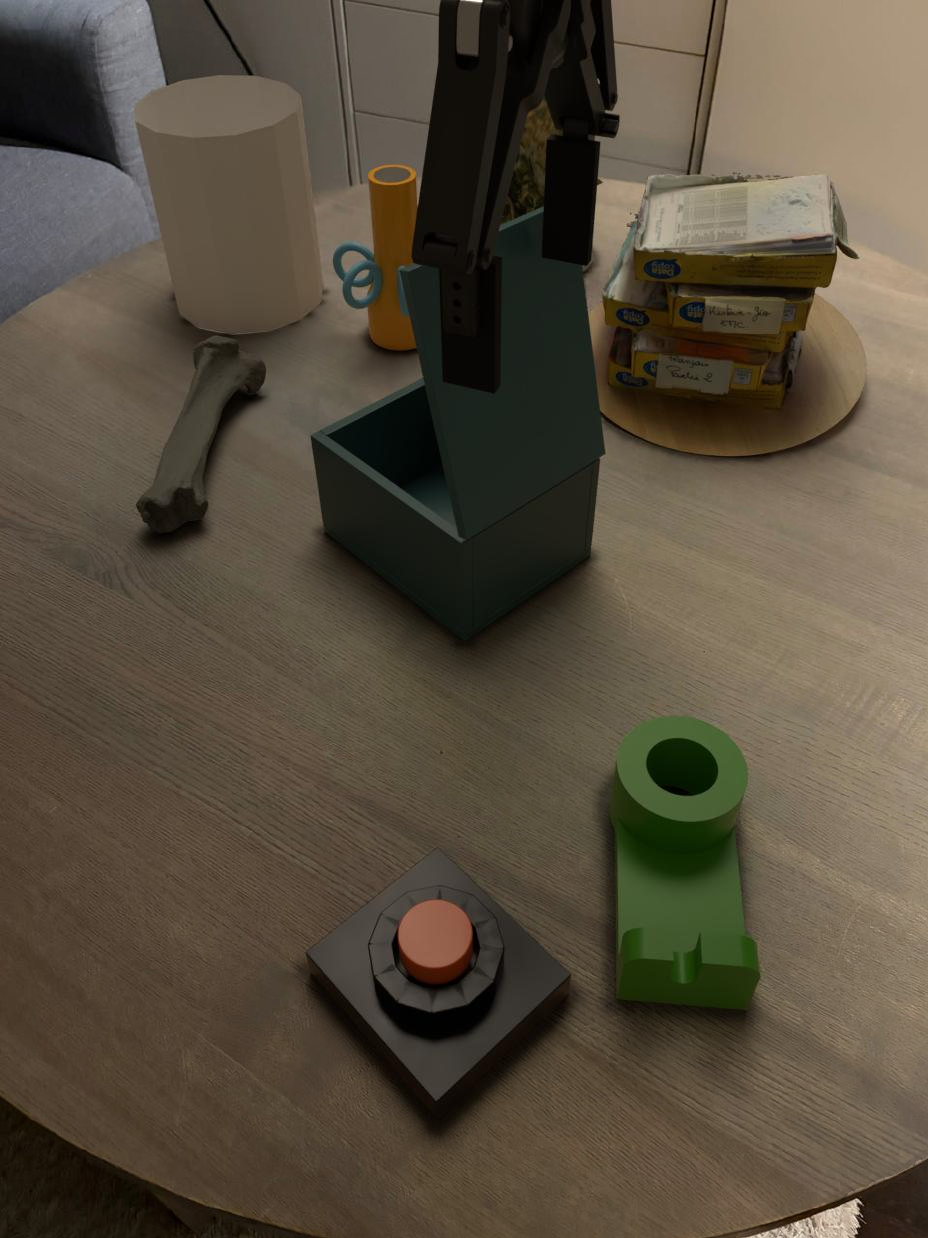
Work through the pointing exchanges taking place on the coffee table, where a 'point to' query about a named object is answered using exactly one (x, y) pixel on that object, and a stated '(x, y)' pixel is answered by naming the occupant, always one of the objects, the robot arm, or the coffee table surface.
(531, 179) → the figurine
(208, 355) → the bone
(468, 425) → the tin lid
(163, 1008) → the coffee table surface
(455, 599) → the tin
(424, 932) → the button
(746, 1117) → the coffee table surface
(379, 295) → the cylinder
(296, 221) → the container
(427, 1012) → the control block
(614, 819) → the green ring bracket
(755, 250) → the paper stack
